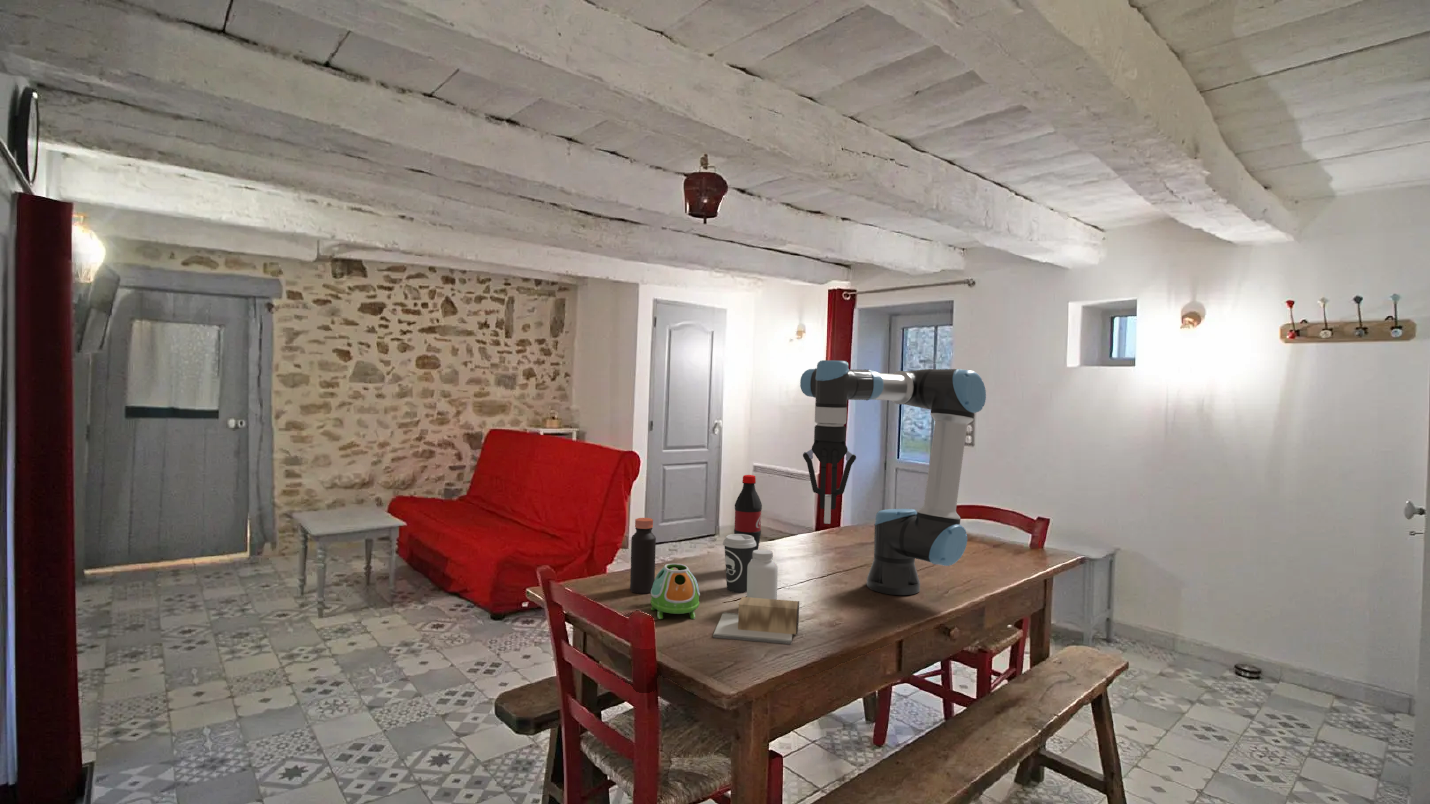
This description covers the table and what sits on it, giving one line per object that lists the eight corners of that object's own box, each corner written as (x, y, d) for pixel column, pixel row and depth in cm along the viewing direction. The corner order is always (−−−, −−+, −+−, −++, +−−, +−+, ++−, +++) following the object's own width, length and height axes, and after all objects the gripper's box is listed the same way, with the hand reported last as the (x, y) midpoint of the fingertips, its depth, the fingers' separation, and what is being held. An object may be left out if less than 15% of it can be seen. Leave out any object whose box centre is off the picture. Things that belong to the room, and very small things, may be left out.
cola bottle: (764, 570, 227) (767, 475, 226) (751, 576, 220) (754, 477, 219) (741, 565, 232) (744, 472, 231) (727, 571, 225) (730, 475, 224)
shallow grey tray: (794, 620, 181) (794, 618, 181) (791, 644, 165) (791, 641, 165) (723, 615, 184) (723, 612, 184) (712, 637, 168) (713, 634, 168)
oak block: (799, 601, 176) (741, 596, 178) (798, 609, 170) (738, 604, 172) (798, 625, 176) (741, 620, 178) (797, 634, 170) (738, 629, 172)
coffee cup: (752, 595, 201) (754, 541, 200) (718, 592, 202) (720, 539, 202) (757, 586, 210) (758, 534, 209) (724, 583, 212) (726, 532, 211)
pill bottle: (744, 603, 194) (746, 547, 193) (774, 603, 194) (775, 547, 194) (748, 613, 186) (750, 555, 185) (779, 613, 187) (781, 555, 186)
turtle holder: (687, 598, 197) (689, 554, 196) (705, 620, 179) (706, 572, 179) (642, 600, 194) (643, 556, 193) (655, 623, 176) (657, 575, 176)
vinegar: (659, 590, 203) (661, 519, 202) (641, 595, 198) (643, 522, 197) (643, 585, 207) (645, 515, 206) (625, 590, 202) (626, 518, 201)
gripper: (857, 424, 177) (854, 520, 177) (803, 422, 178) (800, 517, 179) (858, 426, 169) (855, 527, 170) (802, 424, 171) (799, 524, 172)
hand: (827, 522), depth 175 cm, fingers closed
